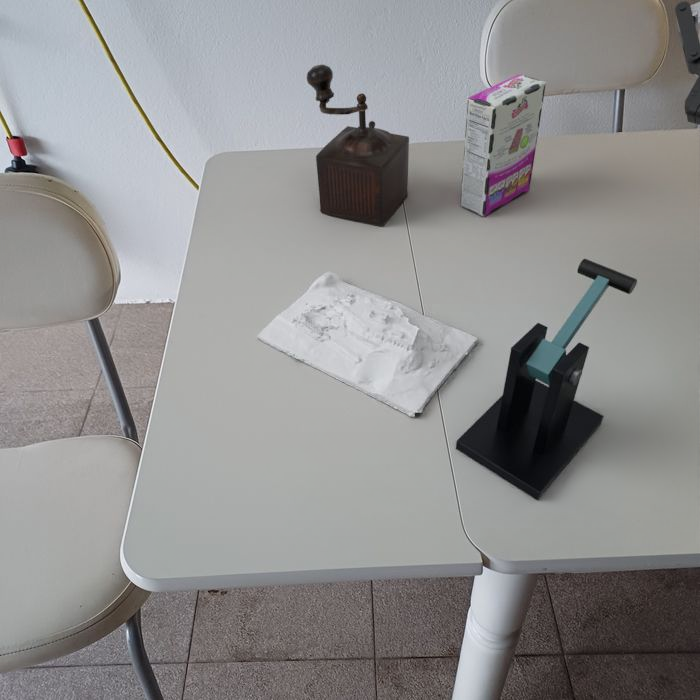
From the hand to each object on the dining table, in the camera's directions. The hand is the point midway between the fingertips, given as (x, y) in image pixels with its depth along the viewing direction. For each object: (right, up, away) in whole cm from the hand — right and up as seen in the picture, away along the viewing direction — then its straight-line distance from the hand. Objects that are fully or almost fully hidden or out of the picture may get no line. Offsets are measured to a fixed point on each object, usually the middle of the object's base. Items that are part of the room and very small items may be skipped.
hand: (695, 119), depth 57 cm
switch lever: (-10, -18, +1) cm, 21 cm away
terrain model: (-29, -19, +18) cm, 39 cm away
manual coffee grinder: (-30, +2, +41) cm, 51 cm away
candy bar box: (-9, +2, +40) cm, 41 cm away
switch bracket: (-13, -29, +6) cm, 32 cm away
